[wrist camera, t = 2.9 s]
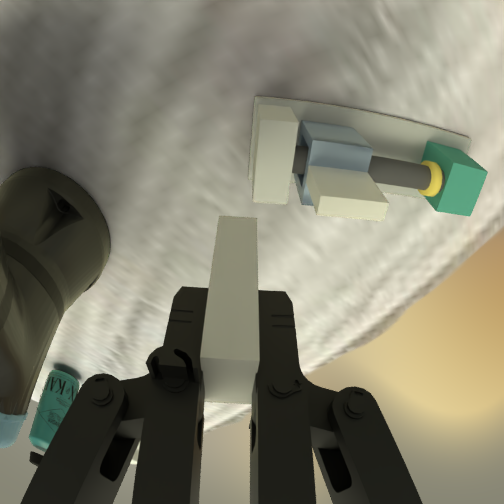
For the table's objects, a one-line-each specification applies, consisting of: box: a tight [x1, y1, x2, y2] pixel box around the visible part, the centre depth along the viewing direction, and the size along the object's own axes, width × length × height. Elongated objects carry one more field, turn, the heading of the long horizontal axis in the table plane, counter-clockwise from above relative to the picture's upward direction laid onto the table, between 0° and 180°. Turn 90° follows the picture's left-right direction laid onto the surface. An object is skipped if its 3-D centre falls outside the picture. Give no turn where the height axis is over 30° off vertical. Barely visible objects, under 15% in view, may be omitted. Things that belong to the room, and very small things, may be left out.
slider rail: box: [248, 96, 488, 216], centre depth 23 cm, size 20×7×5 cm, turn 86°
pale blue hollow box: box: [294, 120, 389, 221], centre depth 20 cm, size 4×5×9 cm
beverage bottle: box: [29, 370, 80, 466], centre depth 41 cm, size 6×7×20 cm
